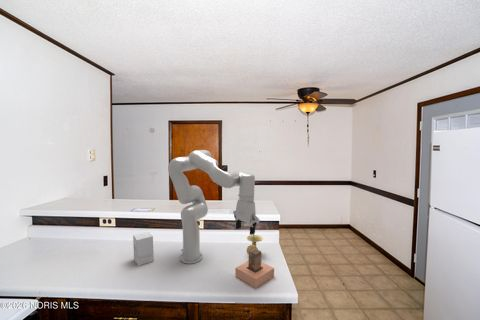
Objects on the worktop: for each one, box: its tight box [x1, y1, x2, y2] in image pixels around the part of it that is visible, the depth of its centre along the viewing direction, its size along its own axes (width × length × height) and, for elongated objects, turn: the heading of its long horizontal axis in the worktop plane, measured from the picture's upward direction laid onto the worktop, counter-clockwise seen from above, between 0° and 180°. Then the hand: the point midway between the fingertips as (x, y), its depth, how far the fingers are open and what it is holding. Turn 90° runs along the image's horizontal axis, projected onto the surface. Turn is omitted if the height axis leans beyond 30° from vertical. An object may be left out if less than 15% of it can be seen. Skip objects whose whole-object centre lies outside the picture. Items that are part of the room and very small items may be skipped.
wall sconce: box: [246, 234, 264, 256], centre depth 143 cm, size 14×10×25 cm
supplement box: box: [132, 231, 155, 267], centre depth 138 cm, size 9×9×15 cm
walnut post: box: [248, 248, 262, 273], centre depth 123 cm, size 4×4×13 cm
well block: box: [234, 260, 275, 289], centre depth 123 cm, size 14×14×4 cm
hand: (245, 231), depth 122 cm, fingers open, 9 cm apart
